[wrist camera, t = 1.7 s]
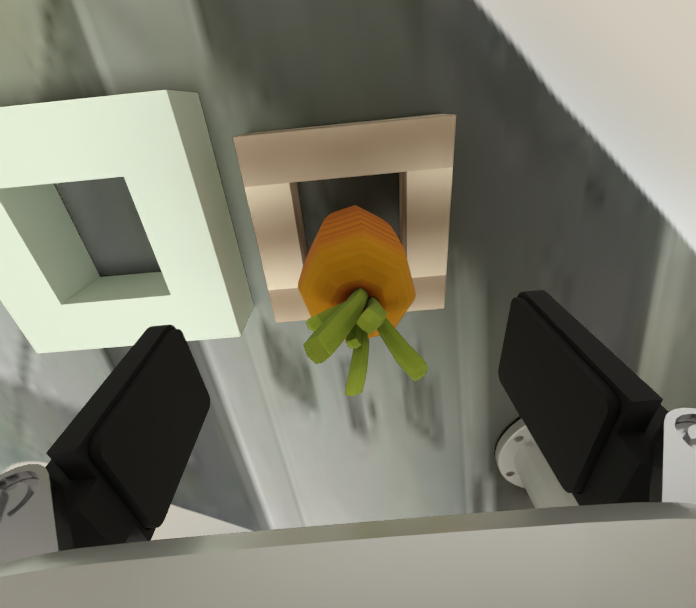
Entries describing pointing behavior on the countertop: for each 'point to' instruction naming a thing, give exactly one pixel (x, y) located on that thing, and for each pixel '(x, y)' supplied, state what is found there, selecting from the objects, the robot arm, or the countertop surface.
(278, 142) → the socket block
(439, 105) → the countertop surface
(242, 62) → the countertop surface
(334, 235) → the carrot
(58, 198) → the pale green square frame
